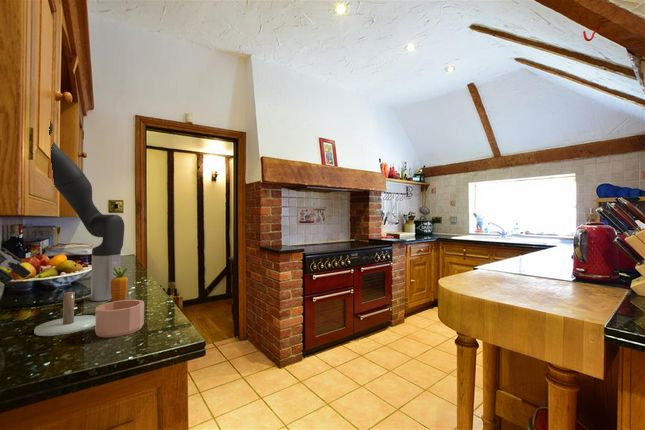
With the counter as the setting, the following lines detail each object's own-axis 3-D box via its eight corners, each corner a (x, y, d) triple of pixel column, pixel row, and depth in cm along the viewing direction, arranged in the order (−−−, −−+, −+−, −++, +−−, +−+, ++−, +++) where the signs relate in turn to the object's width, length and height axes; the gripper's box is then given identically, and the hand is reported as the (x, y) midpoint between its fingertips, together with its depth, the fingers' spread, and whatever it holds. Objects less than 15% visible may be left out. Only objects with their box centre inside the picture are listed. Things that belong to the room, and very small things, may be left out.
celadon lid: (36, 326, 84) (37, 292, 84) (97, 316, 93) (97, 285, 94) (31, 341, 74) (32, 302, 74) (100, 328, 83) (101, 293, 83)
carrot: (130, 308, 101) (131, 265, 101) (119, 312, 96) (120, 267, 96) (117, 307, 102) (119, 265, 102) (106, 312, 97) (107, 267, 97)
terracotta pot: (93, 329, 82) (94, 304, 82) (139, 320, 89) (139, 297, 89) (96, 341, 73) (97, 313, 73) (146, 330, 81) (147, 305, 81)
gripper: (-45, 228, 70) (17, 272, 74) (-6, 227, 83) (44, 264, 87) (-78, 250, 68) (-12, 295, 72) (-33, 245, 81) (20, 283, 85)
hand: (19, 278), depth 79 cm, fingers open, 8 cm apart
